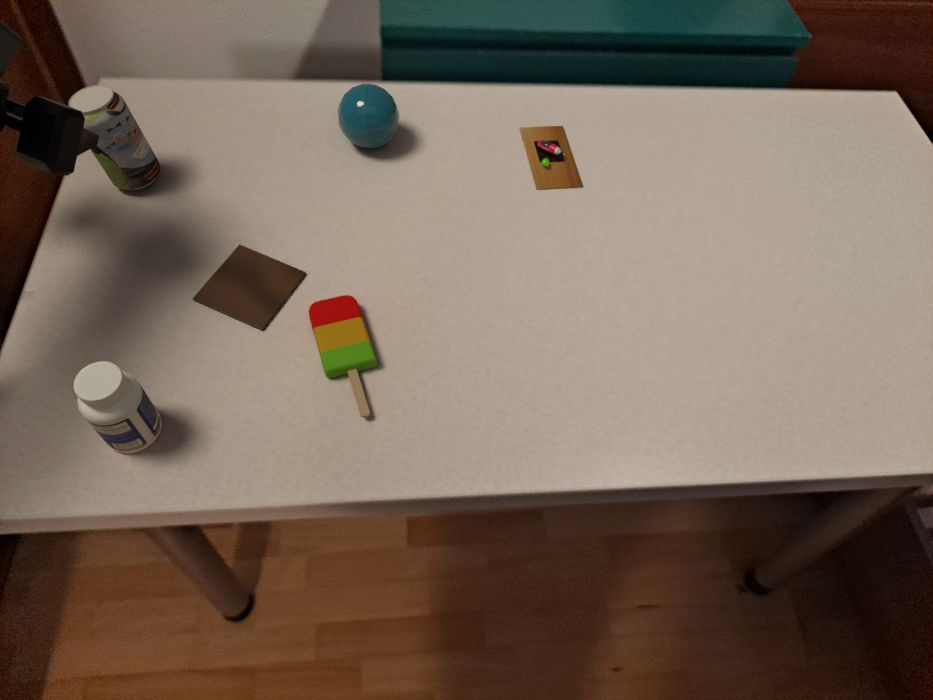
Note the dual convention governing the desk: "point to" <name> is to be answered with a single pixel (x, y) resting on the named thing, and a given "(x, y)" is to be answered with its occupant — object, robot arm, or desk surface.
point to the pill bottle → (117, 407)
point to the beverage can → (116, 138)
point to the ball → (368, 116)
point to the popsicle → (343, 342)
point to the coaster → (250, 287)
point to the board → (550, 157)
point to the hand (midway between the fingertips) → (61, 125)
